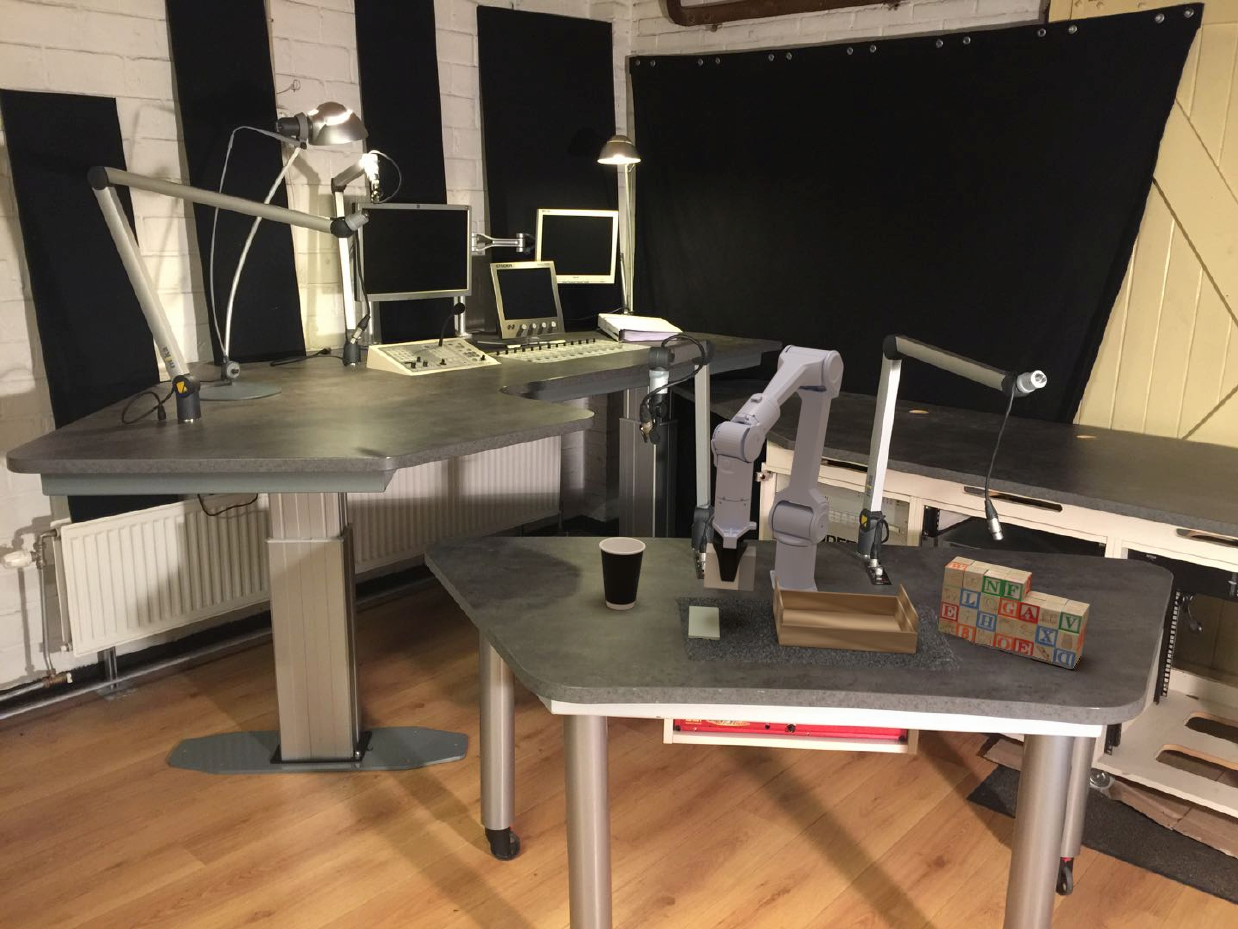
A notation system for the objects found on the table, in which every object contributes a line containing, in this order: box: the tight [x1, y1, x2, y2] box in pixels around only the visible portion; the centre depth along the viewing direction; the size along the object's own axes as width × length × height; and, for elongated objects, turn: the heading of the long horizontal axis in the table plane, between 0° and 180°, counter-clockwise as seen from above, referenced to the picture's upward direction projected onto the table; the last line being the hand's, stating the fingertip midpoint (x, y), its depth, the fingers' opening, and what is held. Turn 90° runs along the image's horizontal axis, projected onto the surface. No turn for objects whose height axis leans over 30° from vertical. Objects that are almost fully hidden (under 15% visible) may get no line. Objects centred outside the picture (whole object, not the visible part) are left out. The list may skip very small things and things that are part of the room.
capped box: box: [703, 542, 757, 592], centre depth 163 cm, size 4×8×6 cm, turn 82°
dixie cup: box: [598, 536, 646, 611], centre depth 171 cm, size 8×8×11 cm
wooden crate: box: [772, 576, 919, 655], centre depth 164 cm, size 15×21×6 cm
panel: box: [687, 605, 721, 641], centre depth 166 cm, size 12×12×1 cm
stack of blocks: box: [937, 556, 1091, 669], centre depth 160 cm, size 21×6×12 cm, turn 54°
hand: (728, 575), depth 163 cm, fingers closed on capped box, 4 cm apart
